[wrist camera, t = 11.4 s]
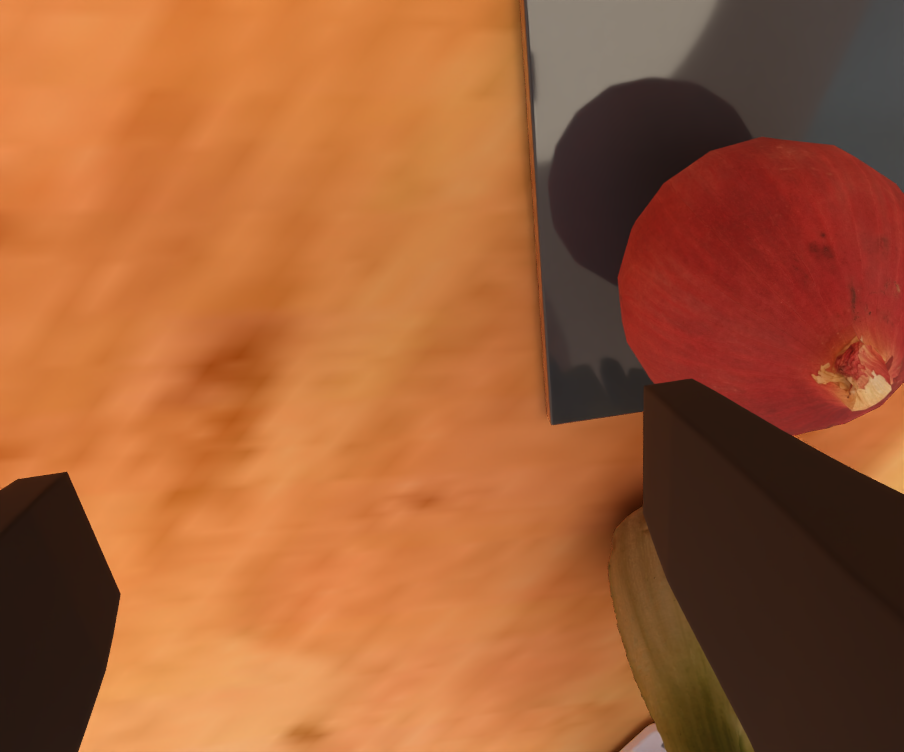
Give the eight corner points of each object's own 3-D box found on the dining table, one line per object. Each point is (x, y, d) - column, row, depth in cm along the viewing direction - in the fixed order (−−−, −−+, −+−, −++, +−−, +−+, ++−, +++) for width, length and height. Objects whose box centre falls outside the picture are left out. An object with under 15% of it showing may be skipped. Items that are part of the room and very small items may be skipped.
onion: (854, 125, 19) (1150, 242, 12) (768, 346, 21) (966, 549, 14) (616, 87, 18) (781, 189, 11) (557, 323, 20) (659, 528, 13)
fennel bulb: (561, 539, 25) (708, 989, 14) (676, 429, 23) (937, 845, 13) (686, 615, 27) (893, 1054, 16) (799, 520, 25) (1109, 938, 15)
